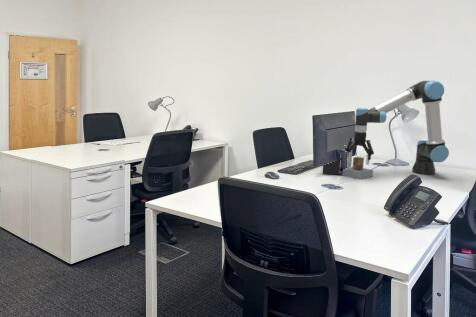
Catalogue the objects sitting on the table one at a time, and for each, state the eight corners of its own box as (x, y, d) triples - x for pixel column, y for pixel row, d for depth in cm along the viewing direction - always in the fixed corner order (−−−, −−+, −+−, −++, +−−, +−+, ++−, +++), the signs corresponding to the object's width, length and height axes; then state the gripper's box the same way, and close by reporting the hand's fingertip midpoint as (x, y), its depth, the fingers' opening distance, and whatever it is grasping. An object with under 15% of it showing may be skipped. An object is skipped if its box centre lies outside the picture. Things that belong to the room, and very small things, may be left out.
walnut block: (363, 169, 276) (363, 157, 275) (359, 170, 273) (360, 158, 272) (356, 168, 280) (357, 156, 278) (352, 169, 276) (353, 157, 275)
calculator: (338, 173, 284) (339, 152, 281) (339, 175, 280) (340, 153, 277) (322, 173, 285) (323, 151, 282) (323, 174, 281) (324, 152, 278)
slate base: (372, 177, 276) (372, 170, 275) (359, 180, 268) (360, 172, 267) (354, 173, 287) (355, 166, 286) (342, 176, 278) (342, 168, 278)
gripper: (341, 130, 278) (339, 161, 282) (374, 133, 260) (372, 166, 264) (347, 129, 283) (345, 159, 287) (380, 133, 265) (378, 165, 269)
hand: (358, 163), depth 276 cm, fingers open, 13 cm apart
